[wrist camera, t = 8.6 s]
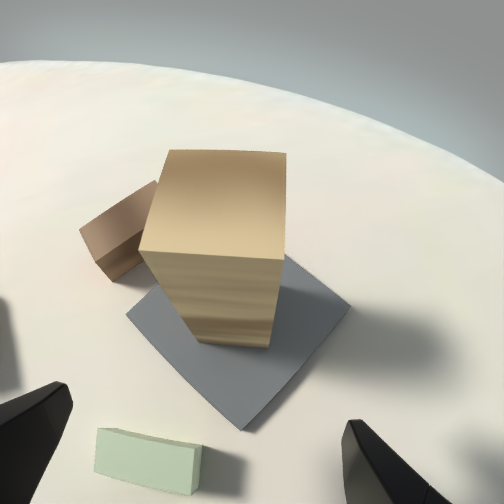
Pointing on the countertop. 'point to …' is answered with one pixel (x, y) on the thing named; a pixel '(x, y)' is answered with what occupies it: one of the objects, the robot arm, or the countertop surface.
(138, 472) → the sage brick
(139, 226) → the walnut brick
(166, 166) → the oak post
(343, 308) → the slate coaster
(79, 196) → the countertop surface
